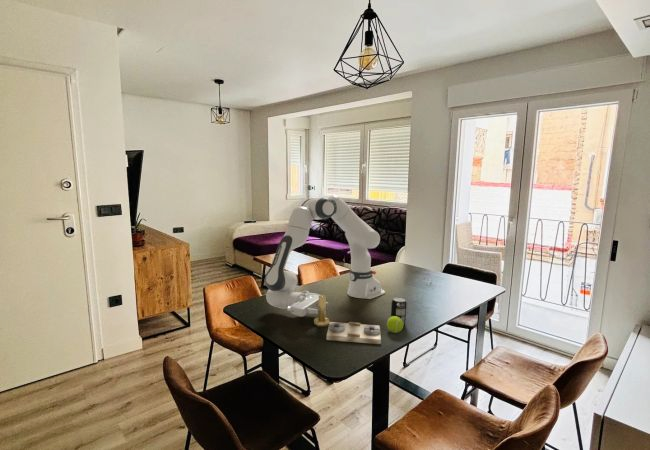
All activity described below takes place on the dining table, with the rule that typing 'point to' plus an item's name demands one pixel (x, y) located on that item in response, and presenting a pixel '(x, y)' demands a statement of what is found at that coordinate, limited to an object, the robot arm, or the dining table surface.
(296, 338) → the dining table surface
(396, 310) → the beverage can
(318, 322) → the gold flanged post
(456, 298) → the dining table surface
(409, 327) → the dining table surface
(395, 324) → the tennis ball
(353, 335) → the gear board
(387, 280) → the dining table surface
